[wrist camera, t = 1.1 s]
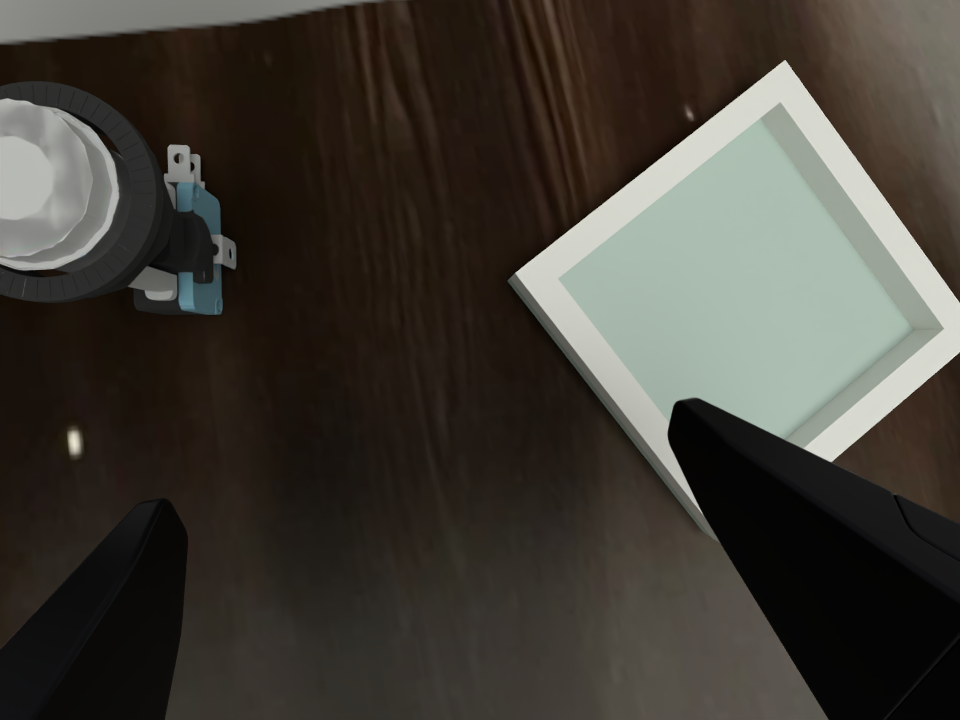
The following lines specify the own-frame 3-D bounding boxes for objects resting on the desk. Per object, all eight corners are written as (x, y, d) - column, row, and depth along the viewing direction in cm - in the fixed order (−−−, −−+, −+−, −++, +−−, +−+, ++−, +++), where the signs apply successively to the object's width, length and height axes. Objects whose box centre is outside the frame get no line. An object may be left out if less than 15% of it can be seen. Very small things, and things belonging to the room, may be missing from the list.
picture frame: (702, 531, 24) (729, 549, 22) (507, 280, 23) (514, 273, 21) (933, 335, 25) (981, 333, 23) (753, 86, 24) (785, 60, 22)
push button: (129, 158, 22) (-125, -7, 12) (265, 160, 22) (130, 3, 12) (132, 323, 22) (-118, 297, 12) (268, 322, 22) (135, 296, 12)
